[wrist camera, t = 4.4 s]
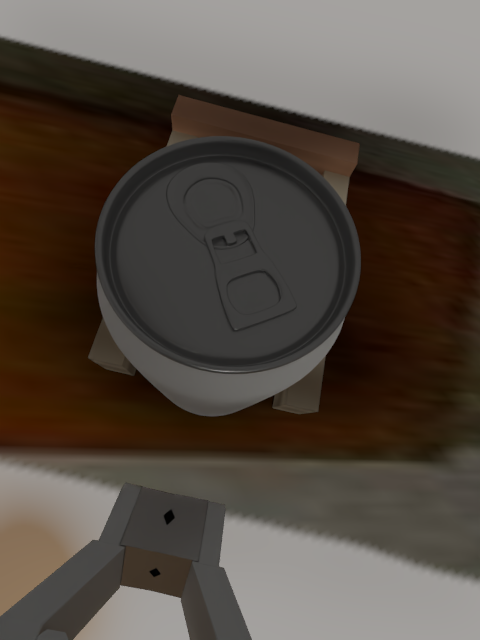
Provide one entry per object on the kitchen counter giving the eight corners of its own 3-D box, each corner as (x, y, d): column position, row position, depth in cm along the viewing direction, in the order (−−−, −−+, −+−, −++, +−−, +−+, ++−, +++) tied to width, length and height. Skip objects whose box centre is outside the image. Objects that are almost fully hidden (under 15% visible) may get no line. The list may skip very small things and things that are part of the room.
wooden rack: (299, 414, 18) (325, 410, 14) (106, 369, 17) (80, 353, 14) (333, 190, 23) (359, 143, 19) (182, 151, 22) (178, 95, 19)
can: (244, 286, 20) (303, 98, 8) (289, 389, 18) (435, 327, 7) (137, 322, 18) (36, 155, 7) (175, 437, 17) (126, 457, 6)
